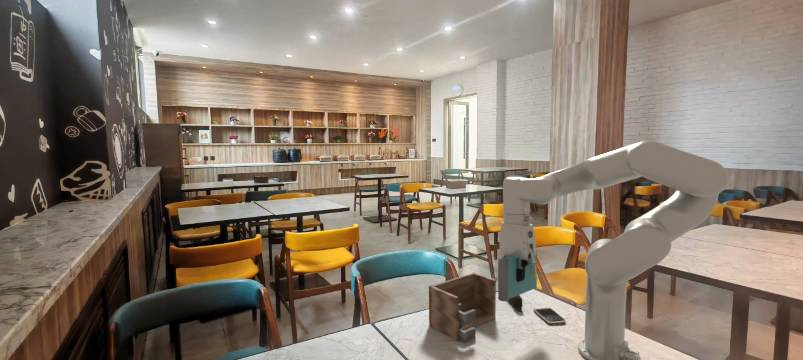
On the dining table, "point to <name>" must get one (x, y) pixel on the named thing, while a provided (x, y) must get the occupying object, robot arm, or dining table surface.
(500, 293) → the door
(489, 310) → the cabinet
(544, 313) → the cell phone
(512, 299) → the hand tool
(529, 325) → the dining table surface
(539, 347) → the dining table surface
